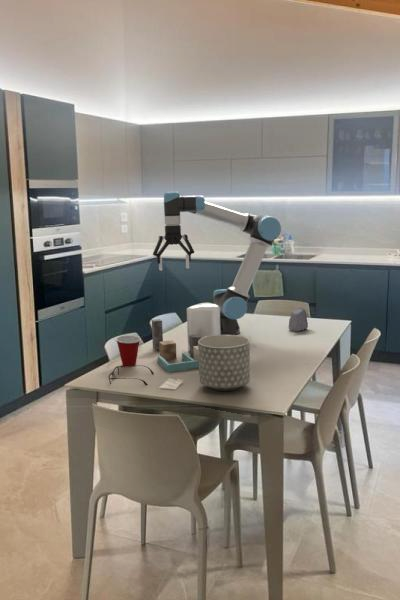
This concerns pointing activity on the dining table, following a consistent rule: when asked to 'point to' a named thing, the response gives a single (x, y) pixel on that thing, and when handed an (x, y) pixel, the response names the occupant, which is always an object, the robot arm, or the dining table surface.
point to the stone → (298, 320)
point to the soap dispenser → (203, 320)
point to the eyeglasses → (126, 378)
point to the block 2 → (194, 346)
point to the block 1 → (165, 347)
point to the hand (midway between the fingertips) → (174, 269)
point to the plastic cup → (128, 349)
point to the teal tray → (188, 363)
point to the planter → (224, 361)
